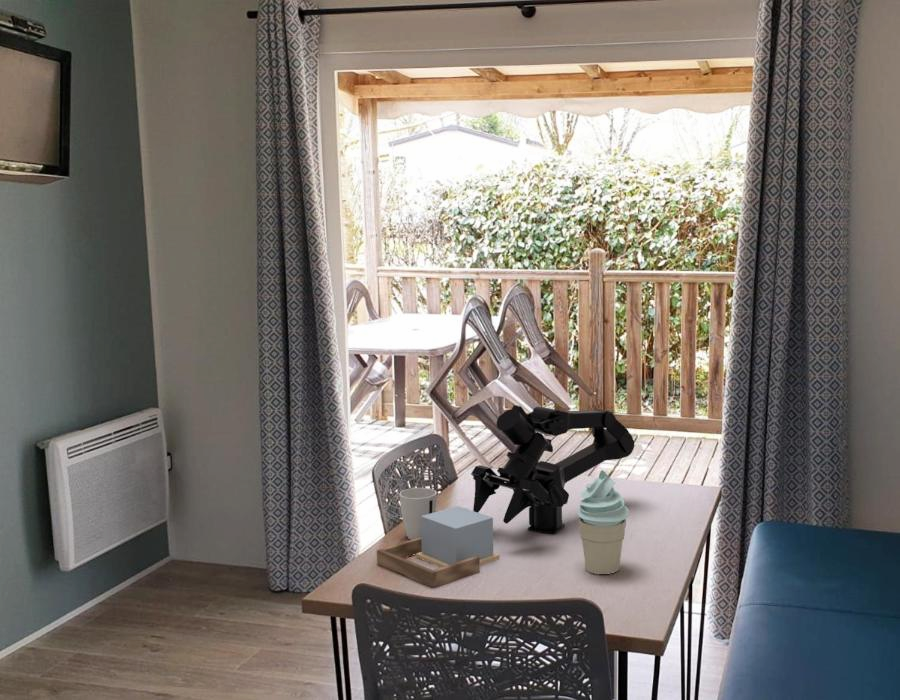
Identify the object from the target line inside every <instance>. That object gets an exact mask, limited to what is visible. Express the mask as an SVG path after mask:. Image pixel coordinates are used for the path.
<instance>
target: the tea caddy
mask: <svg viewBox="0 0 900 700" xmlns="http://www.w3.org/2000/svg"><path fill="white" fill-rule="evenodd" d="M421 540H422V552H420V553H416V555H415V558H416V557H418V558H421V559H424V560H426V561H428V562H430V563H429V564H431V563H433V564H435V565H437V566H436V567H438V566H439V567H438V568H440V567H444V566H447V565H450V564H453V563H456V562H459V561H462V560H465V559H468V558H471V557H474V556H478V557H479V562H480V566H482V565H485V564H488V563H491V562H494V561H497V560H500V554H498V553H495V552H494V518H493V517H492V516H489V515H486V514H484V513H481V512H478V513H477V512H474V511H473V510H470V509H467V508H465V507H462V506H459V505H456V506H452V507H449V508H446V509H442V510H439V511H436V512H434V513H431V514H427V515H423V516H421ZM418 558H417V559H418ZM421 559H420V560H421ZM426 561H425V562H426ZM428 562H427V563H428ZM433 564H432V565H433ZM435 565H434V566H435Z"/></svg>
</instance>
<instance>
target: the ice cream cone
mask: <svg viewBox="0 0 900 700" xmlns="http://www.w3.org/2000/svg"><path fill="white" fill-rule="evenodd" d="M616 484H617V482H616V481H614V480H613V479H612V478H611V477H610V476H609V474H608V473H606V471H604V469H603V470H600V472H599V474H598V477H597V478H596V479H594V481H593V482H592V483H587V484H586V485H585V486H586V490H584V491H582V492H581V493H580V496H581V498H583V499H582V500H580V501H579V504H580V505H579V508H578V510H577V515H578V526H579V534H580V539H581V542H582V550H583V551H582V552H583V556H584V557H583V558H584V567H585V570H586V571H587V572H589V573H590V574H593V573H594V574H593V575H599V574H608V573H613V572H616V571H618V570H619V571H620V565H621V556H622V549H623V542H624V540H625V532H626V526H627V520H626V519H627V518H628V517H629V515H630V510H629V508H628V507H627V506H626V505H625V504H626V503H625V500H624V498H623V497H622V496H621V494H620V492H618V490H615V489H614V487H615V486H616ZM619 571H618V572H619ZM616 573H617V572H616Z"/></svg>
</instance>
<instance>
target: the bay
mask: <svg viewBox="0 0 900 700" xmlns="http://www.w3.org/2000/svg"><path fill="white" fill-rule="evenodd" d="M419 552H422V540H421V537H419V538H416V539H413V540H410V539H409V540H407V541H404V542H400V543H397V544H393V545H391V546H387V547H384V548H379V549H377V550H376V565H377V564H378V566H380V567H382V568H384V567H385V569H387V570H389V569H390V571H391V570H393V571H392V572H394V571H395V572H394V573H396V572H398V573H400V574H399V575H401V574H403V575H405V576H407V577H406V578H408V577H409V579H410V578H411V580H413V579H414V580H413V581H415V580H416V581H415V582H417V581H419V582H418V583H420V582H421V583H420V584H422V583H423V584H422V585H424V584H426V585H425V586H427V585H428V586H427V587H429V586H430V588H431V587H432V589H434V588H437V587H440V586H443V585H445V584H448V583H451V582H453V581H457V580H460V579H463V578H465V577H469V576H471V575H474V574H477V573H479V572H481V571H480V566H481V565H480V562H479V557H478V556H474V557H471V558H468V559H465V560H462V561H459V562H456V563H453V564H450V565H447V566H444V567H441V568H440V567H438V568H435V569H431V568H428V567H426V566H423V565H421V564H419V563H416V562H413V561H412V560H411V561H410V560H409V559H406V558H408V557H407V556H409V557H411V556H410V555H413V554H416V553H419ZM413 556H414V555H413ZM405 557H406V558H405ZM398 573H397V574H398ZM403 575H402V576H403ZM405 576H404V577H405ZM436 586H437V587H436Z"/></svg>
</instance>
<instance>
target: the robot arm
mask: <svg viewBox="0 0 900 700" xmlns="http://www.w3.org/2000/svg"><path fill="white" fill-rule="evenodd" d="M495 423H496V425H495V426H496V428H497V429H498V430H499V431H500V432H501V433H502V435H504V437H505V438H506V439H507V440H508V441H509V442H510V443H511V445H514V446H516V447H515V448H514V450H513V452H512V451H508V452H507V454H506V457H507V458H508V459H507V461H506V464H505V465H504V467H501V466H500V467H498V468H497V470H496V471H497V473H498V474H499V475H498V474H496V472H494V470H493V469H492V468H491V467H489V466H484V465H481V464H479V465H475V466H474V468H473V470H472V471H471V473H470V474H471V476H472V477H473V478H472V479H473V480H474V498H473V508H472V511H474V512H477V513H480V511H481V510H482V508H483V507H484V505H485V504H486V502H487V501H488V499H489V497H490V496H493V495H496V494H497V492H496V490H498V489H499V488H500V487H504V488H507V489H511V490H512V491H513V493H512V496H511V498H510V501H509V504H508V506H507V509H506V510H505V514H504V517H503V519H502V521H503V523H504V524H506V525H507V524H508V523H510V522H511V521H512V520H513V519H514V518H516V517H517V516H518V515H519V514H520V513H521V512H523V511H524V510H526V509H527V508H528V524H529V526H528V527H527V530H528V531H530V532H539V533H545V534H552V535H555V534H557V533H558V532H559V531H561V530H562V529H564V527H566V523H563V507H564V505H567V504H568V501H569V497H570V494H569V492H567V491H566V489H565V485H566V483H568V482H570V481H572V480H574V479H575V478H577V477H578V476H581V475H583V474H584V473H586V472H587V471H589V470H592V468H595V467H596V466H598V465H600V464H602V463H603V462H605V461H613V460H621V459H623V458H628V457H629V456H630V455H632V453H633V451H634V449H635V441H634V438H633V435H632V434H631V433H630V432H629V430H628V429H627V427H625V426H624V424H622V423H621V422H620V421H619V420H618V419H617V418H616V416H615V414H614V413H613V412H611V410H610V411H609V410H604V409H600V408H595V409H587V410H586V409H585V410H583V409H582V410H561V409H560V410H558V409H554V408H550V407H543V406H539V405H538V406H535V407H534V408H533V409H532V411H531V412H528V413H526V412H525V410H524V408H523V407H522V406H521V405H516V404H514V405H513V406H512V408H511V409H508V410H506V411H504V412H503V413H502V414H499V416H498V417H497V419H496V422H495ZM578 429H579V430H580V429H592V432H591V433H592V434H591V435H592V437H593V441H592V443H591V444H590V445H588V446H586V447H584V448H583V449H581V450H579V451H577V452H574V453H573V454H570V455H569V456H568V457H565V458H564V459H561V460H559V462H557V463H552V462H547V461H543V460H541V458H542V456H543V454H544V453H545V452H547V453H548V452H549V453H553V451H554V446H553V445H552V439H549V438H545V436H544V434H545V435H548V436H553V437H557V436H561V435H563V434H567V432H568V431H570V430H578Z"/></svg>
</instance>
